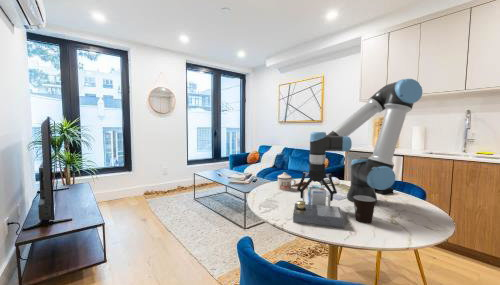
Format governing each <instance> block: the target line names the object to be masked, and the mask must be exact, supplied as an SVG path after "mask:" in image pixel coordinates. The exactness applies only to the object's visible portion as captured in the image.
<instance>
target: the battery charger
mask: <svg viewBox="0 0 500 285" xmlns="http://www.w3.org/2000/svg"><path fill="white" fill-rule="evenodd" d="M374 190H375V193H376V194H378V195H381V196H386V195H391V194H394V188H393V187H389V188H387V189H384V190H378V189H375V188H374Z"/></svg>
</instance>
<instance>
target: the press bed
mask: <svg viewBox="0 0 500 285" xmlns="http://www.w3.org/2000/svg"><path fill="white" fill-rule="evenodd" d="M292 213H293V215H292V222H293V223H295V224H303V225H312V226H319V227H328V228H338V229H345V228H344V226H345V225H344V224H345V218H344V216H343V213H342V210H341V208H340V207H339V206H333V205H330V206H328V205H326V206H324V205H309V204H306V203H305V207H304V210H298V204H297V202H296V203H294V208H293V212H292Z"/></svg>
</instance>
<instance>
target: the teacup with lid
mask: <svg viewBox="0 0 500 285" xmlns="http://www.w3.org/2000/svg"><path fill="white" fill-rule="evenodd" d="M292 181H293V184H292ZM296 183H297V181H296V179H294V178H292V176H291V175H289V174H288V173H287V172H283V173H281V174H278V175H277V189H278V190H279V191H291V190H292V187H295V185H296Z"/></svg>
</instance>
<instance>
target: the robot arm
mask: <svg viewBox="0 0 500 285" xmlns="http://www.w3.org/2000/svg"><path fill="white" fill-rule="evenodd" d="M422 96H423V87H422V86H421V84H420V82H419V81H418V80H416V79H413V78H404V79H399V80H398V81H395V82H392V83H388V84H386V85H384V86H382V87H381V88H380V89H378V90H377V91H376V92H375V93H374V94H373V95H372V96H371V97H369V98H368V99H367V102H366V103H365V104H363V106H361V107H360V108H359V109H357V110H356V111H355V112H354V113H353V114H351V115H350V116H349V117H348V118H346V119H345V120H344V121H343V122H342V123H340V124H339V125H338V126H337V127H335V128H334V129H333V130H331V132H329V133H328V134H327V133H326V131H325V132H324V131H312V132H311V133H310V135H309V136H310V137H309V164H308V165H309V166H308V168H309V169H308V172H305V171H303V173H302V177H301V179H300V181H299V184H298V186H297V188H296V190H297V192H300V199H302V201H304V202H305V190H306V189H308V185H311V183H312V182H314V183H315V182H317V183H322V185H323V186H324V187H325V188H326V191H328V199H327V200H328V202H327V206H331V202H333V201H334V195H336V194H338V191H337V189H336V186H335V184H334V181H333V175H332V173H326V164H325V163H326V155H327V154H326V152H341V153H343V152H349V151H350V150H351V149H352V144H353V143H352V142H353V141H352V138H351V137H350V135H351V134H353V133H354V132H355V131H356V130H358V129H359V128H360V127H361V126H363V125H364V124H365V123H366V122H368V121H369V120H371V118H373V117H374V116H375V115H376V114H378V113H382V112H383V111H384V110H385V113H384V116H383V120H382V123H381V126H380V130H379V133H378V136H377V139H376V141H375V146H374V149H373V152H372V155H370V156H369V157H368V158H367V159H365V158H364V159H362V158H361V159H359V158H358V159H357V158H356V159H352V160H351V164H350V185H349V189H348V191H347V194H346V200H348V201H350V202H353V203H354V198H353V197H354V196H357V195H361V196H369V197H372V198H374V199H376V201H375V204H377V203H378V196H377V193H375V190H374V188H375V189H378V190H384V189H387V188H392V186H393V185H394V184H395V182H396V174H395V171H394V170H393V169H394V166H395V164H394V162H393V158H394V155H395V151H396V148H397V145H398V141H399V137H400V135H401V132H402V129H403V125H404V122H405V120H406V117H407V113H408V112H411V111H412V110H413V106H414V104H415V103H417V102H418V101H419V100H420V99H421V98H422ZM307 176H308V177H309V179H308V180H307V181H306V183H305V184H304V181H305V179H306V177H307ZM326 177H327V179H328V180H329V182H330V185H331V188H332V189H331V188H330V186H329V185H328V184H327V182H326V180H325V178H326ZM303 184H304V185H303ZM302 185H303V186H302ZM301 187H302V188H301Z"/></svg>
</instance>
